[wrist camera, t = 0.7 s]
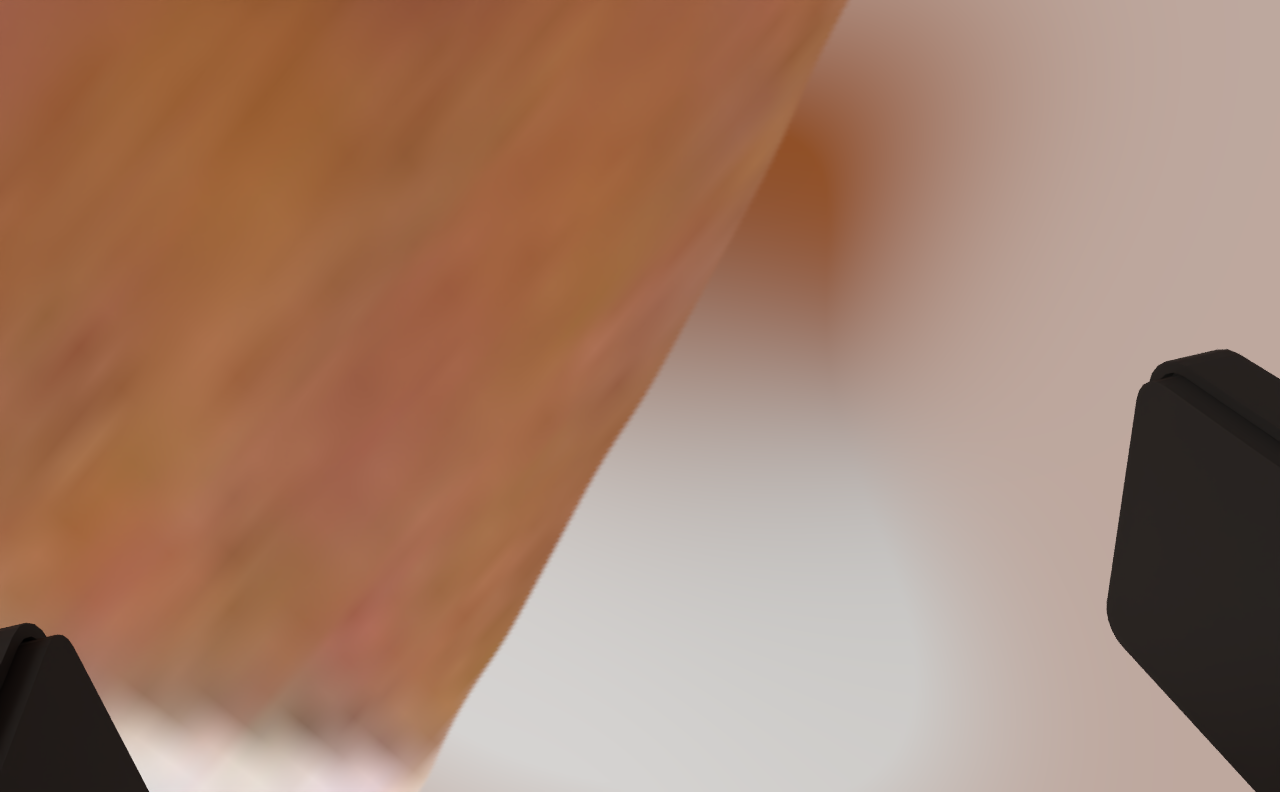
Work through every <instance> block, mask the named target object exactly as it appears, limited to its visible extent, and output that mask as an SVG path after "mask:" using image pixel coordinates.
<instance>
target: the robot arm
mask: <svg viewBox="0 0 1280 792" xmlns="http://www.w3.org/2000/svg"><path fill="white" fill-rule="evenodd" d="M1107 615H1108V621H1109V623H1110V626H1111V629H1112V631H1113V633H1114V635H1115V637H1116V639H1117V640H1118V641H1119V642H1120V644H1121V645H1122V646H1123V647H1124V649H1125V650H1126V651H1127V652H1128V653H1129V654H1130V655H1131V656H1132V657H1133V658H1134V659H1135V661H1136V662H1137V663H1138V664H1139V665H1140V666H1141V667H1142V668H1143V669H1144V670H1145V672H1146V673H1147V674H1148V675H1149V676H1150V677H1151V678H1152V679H1153V680H1154V681H1155V682H1156V683H1157V685H1158V686H1159V687H1160V688H1161V689H1162V690H1163V691H1164V692H1165V693H1166V694H1167V696H1168V697H1169V698H1170V699H1171V700H1172V701H1173V702H1174V703H1175V704H1176V705H1177V706H1178V707H1179V709H1180V710H1181V711H1182V712H1183V713H1184V714H1185V715H1186V716H1187V717H1188V718H1189V719H1190V721H1192V723H1193V724H1194V725H1195V726H1196V727H1197V728H1198V729H1199V730H1200V732H1201V733H1202V734H1203V735H1204V736H1205V737H1206V738H1207V739H1208V740H1209V741H1210V742H1211V744H1212V745H1213V746H1214V747H1215V748H1216V749H1217V750H1218V751H1219V752H1220V753H1221V754H1222V755H1223V757H1224V758H1225V759H1226V760H1227V761H1228V762H1229V763H1230V764H1231V765H1232V766H1233V768H1234V769H1235V770H1236V771H1237V772H1238V773H1239V774H1240V775H1241V776H1242V777H1243V778H1244V780H1245V781H1246V782H1247V783H1248V784H1249V785H1250V786H1251V787H1252V788H1253V789H1254V790H1255V791H1256V792H1280V379H1279V378H1277V377H1276V376H1274V375H1272V374H1271V373H1269V372H1267V371H1266V370H1264V369H1263V368H1261V367H1259V366H1258V365H1256V364H1255V363H1253V362H1251V361H1250V360H1248V359H1246V358H1245V357H1243V356H1241V355H1240V354H1238V353H1235V352H1233V351H1230V350H1228V349H1226V350H1214V351H1210V352H1205V353H1201V354H1197V355H1192V356H1188V357H1183V358H1179V359H1175V360H1170V361H1166V362H1164V363H1162V364H1160V365H1159V366H1157V368H1156V369H1155V370H1154V372H1153V373H1152V375H1151V379H1150V382H1148V383H1146V384H1144V385H1143V386H1142V388H1141V389H1140V390H1139V393H1138V396H1137V400H1136V407H1135V414H1134V421H1133V428H1132V435H1131V441H1130V448H1129V455H1128V462H1127V468H1126V476H1125V482H1124V489H1123V496H1122V504H1121V510H1120V517H1119V523H1118V530H1117V537H1116V544H1115V550H1114V557H1113V564H1112V571H1111V578H1110V585H1109V592H1108V598H1107ZM0 792H149V791H148V789H147V787H146V785H145V783H144V781H143V779H142V777H141V775H140V773H139V771H138V770H137V768H136V766H135V764H134V762H133V760H132V758H131V756H130V754H129V752H128V750H127V748H126V747H125V745H124V743H123V741H122V739H121V737H120V735H119V733H118V731H117V729H116V727H115V725H114V724H113V722H112V720H111V718H110V716H109V714H108V712H107V710H106V708H105V706H104V704H103V702H102V700H101V699H100V697H99V695H98V693H97V691H96V689H95V687H94V685H93V683H92V681H91V679H90V677H89V676H88V674H87V672H86V670H85V668H84V666H83V664H82V662H81V660H80V658H79V656H78V654H77V653H76V651H75V649H74V647H73V645H72V644H71V642H70V641H69V640H68V639H67V638H66V637H64V636H63V635H54V636H49V637H46V635H45V634H44V632H43V631H42V630H41V629H40V628H38V627H37V626H36V625H35V624H30V623H23V624H19V625H14V626H10V627H6V628H1V629H0Z"/></svg>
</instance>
